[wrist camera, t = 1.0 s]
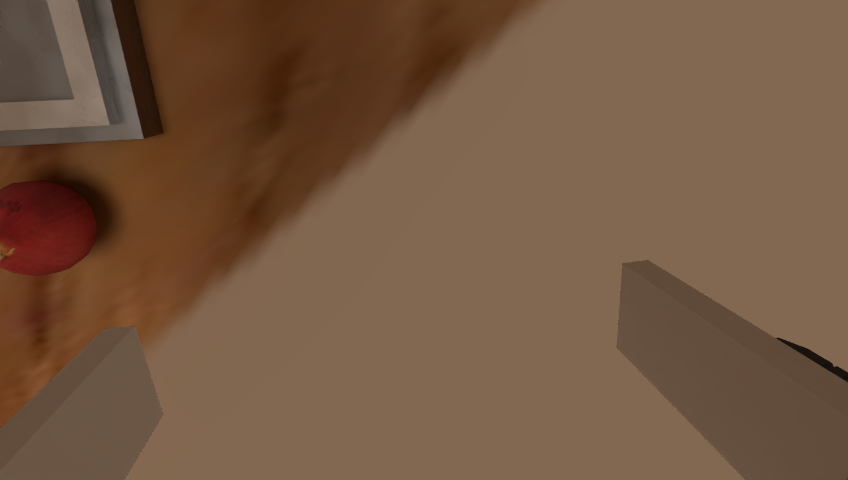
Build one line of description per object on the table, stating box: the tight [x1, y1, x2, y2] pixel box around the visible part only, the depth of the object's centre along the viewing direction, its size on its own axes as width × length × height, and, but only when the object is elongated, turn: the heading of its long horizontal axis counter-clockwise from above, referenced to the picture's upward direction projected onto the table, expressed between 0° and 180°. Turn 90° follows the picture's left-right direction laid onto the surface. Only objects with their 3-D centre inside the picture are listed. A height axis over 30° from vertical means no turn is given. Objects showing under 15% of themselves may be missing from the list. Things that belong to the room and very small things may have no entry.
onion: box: [0, 180, 97, 276], centre depth 29 cm, size 6×6×8 cm
